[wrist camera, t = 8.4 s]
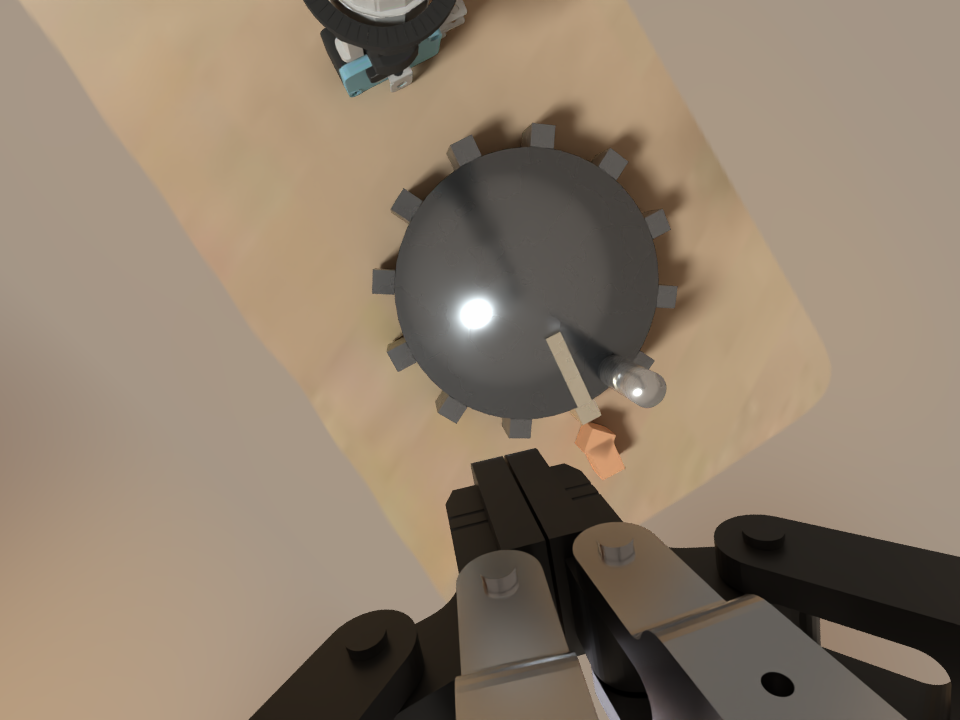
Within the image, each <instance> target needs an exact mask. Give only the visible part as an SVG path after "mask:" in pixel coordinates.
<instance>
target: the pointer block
mask: <svg viewBox="0 0 960 720" xmlns="http://www.w3.org/2000/svg"><path fill="white" fill-rule="evenodd" d="M615 437H616V435H615V434H614V433H613V432H611V431H610V430H609V429H608V428H607V427H605V426H602V425H598V424H595V423H591V422H588V423H586V424H584V425H581V428H580V431H579V433H578V436H577V439H576V441H575V444H576V445H577V446H578V447H579V448H580V449H581V450H582V451H583V452H584V453H586V455H587V458H588V460H589V462H590V464H591V466H592V468H593V470H594V471H595V472H596V473H597V474H598V475H599V477H600V478H601V479H602V480H604V479H606V478H608V477H610V476H612V475H614V474H616V473H617V472H619V471H621V470H623V469H625V467H624V464H623V462H622V460H621V458H620V456H619V454H618V451H617V449H616V447H615V445H614V443H613V442H614V439H615Z"/></svg>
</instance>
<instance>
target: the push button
mask: <svg viewBox="0 0 960 720" xmlns="http://www.w3.org/2000/svg"><path fill="white" fill-rule="evenodd" d="M303 1H304V2H305V4H306V6H307V7H308V9H309V10H310V11H311V13H312V14H313V15H314V16H315V17H316V19H317V20H318V21H319V22H320V23H321V24H322V25H323V26H324V27H326V28H324V29H323V30H322V31H321V33H320V35H321V37H322V40H323V43H324V46H325V48H326V51H327V53H328V55H329V57H330V59H331V61H332V63H333V65H334V67H335V69H336V71H337V73H338V75H339V77H340V79H341V81H342V83H343V85H344V86H345V88H346V90H347V92H348V94H349V96H350V97H355V96H357V95H359V94H361V93H363V91H365V90H367V89H369V88H371V87H373V86H375V85H377V84H379V83H381V82H383V81H385V80H387V79H389V81H390V83H391V84H390V87H391V92H395V91H397V90H399V89H401V88H403V87H405V86H407V85H409V84H410V83H411V82H412V73H413V72H412V70H411V67H413V66H415V65H417V64H419V63H421V62H423V61H425V60H427V59H429V58H431V57H433V56H435V55H436V54H437V53H438V52H439V46H440V41H441V38H443V37H445V36H446V33H445V32H447V31H449V30H451V29H453V28H455V27H457V26H459V25H461V24H463V23H464V21H465V19H464V17H463V16H464V15H466V14H467V9H466V7H465V5H464V2H463V0H433V1H432V2H431V3H430V5H428V3H429V0H330V1H329V0H303ZM454 5H456V6H454ZM456 19H457V20H456ZM454 20H456V21H455V22H454V23H451V22H452V21H454ZM403 82H405V83H403ZM401 83H403V84H402V85H399V84H401ZM398 85H399V86H398Z"/></svg>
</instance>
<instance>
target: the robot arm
mask: <svg viewBox="0 0 960 720" xmlns="http://www.w3.org/2000/svg"><path fill="white" fill-rule="evenodd" d="M471 469H472V474H473V479H474V484H475V485H473V486H469V487H465V488H461V489H457V490H453V491H452V493H451V495H450V497H449V499H448V501H447V502H446V509H447V514H448V519H449V525H450V530H451V535H452V540H453V545H454V550H455V556H456V561H457V566H458V571H459V575H458V578H457V581H456V593H455V594H454V596H453V597H452V599H451V600H450V601H449V602H448V603H447V604H446V605H445V606H444V607H443V608H442V609H440V610H439V611H438V612H436V613H435V614H433V615H431V616H429V617H428V618H426V619H424V620H422V621H420V622H418V623H416V624H414V622H413V620H412V619H411V618H410V617H409V616H408V615H406V614H404V613H402V612H399V611H395V610H377V611H372V612H368V613H365V614H362V615H360V616H358V617H355V618H353V619H352V620H350V621H348V622H346V623H345V624H344V625H342V626H341V627H340V628H338V629H337V630H336V631H335V632H334V633H333V634H332V635H331V636H330V637H329V638H328V639H327V640H326V641H325V642H324V643H323V644H322V645H321V646H320V647H319V648H318V649H317V650H316V651H315V652H314V653H313V654H312V655H311V656H310V657H309V659H307V661H305V662H304V664H303V665H302V666H301V667H300V668H299V669H298V670H297V671H296V672H295V673H294V674H293V675H292V676H291V677H290V678H289V679H288V680H287V681H286V682H285V683H284V684H283V685H282V686H281V687H280V688H279V689H278V690H277V691H276V692H275V693H274V694H273V695H272V696H271V697H270V698H269V699H268V700H267V701H266V702H265V703H264V705H262V706H261V708H260V709H259V710H258V711H257V712H256V713H255V714H254V715H253V716H252V717H251V718H250V719H249V720H599V719H598V716H597V713H596V710H595V707H594V704H593V702H592V698H591V695H590V693H589V689H588V687H587V684H586V681H585V678H584V675H583V672H582V669H581V666H580V663H579V660H578V658H577V656H579V655H583V654H586V656H587V658H588V660H589V662H590V664H591V669H592V675H593V682H594V688H595V692H596V695H597V697H598V699H599V701H600V703H601V705H602V706H603V708H604V710H605V712H606V714H607V716H608V718H609V719H610V720H960V557H957V556H953V555H948V554H944V553H939V552H934V551H930V550H925V549H921V548H916V547H912V546H907V545H903V544H898V543H894V542H889V541H884V540H880V539H875V538H871V537H866V536H861V535H857V534H852V533H847V532H843V531H839V530H834V529H829V528H825V527H820V526H816V525H811V524H807V523H802V522H797V521H793V520H788V519H783V518H779V517H774V516H767V515H743V516H737V517H734V518H731V519H728V520H726V521H724V522H723V523H721V524H720V525H719V526H718V527H717V528H716V530H715V533H714V543H715V547H699V548H670V547H668V546H666V545H665V544H664V543H663V542H662V541H661V540H660V539H659V538H658V537H657V536H656V535H655V534H654V533H652V532H651V531H650V530H648V529H646V528H644V527H642V526H639V525H636V524H632V523H626V522H623V521H622V520H621V519H620V518H619V516H618V515H617V514H616V513H615V512H614V510H613V509H612V508H611V507H610V505H609V504H608V503H607V502H606V501H605V499H604V498H603V497H602V496H601V494H599V493H598V491H597V490H596V488H595V487H594V486H593V485H591V482H590V481H589V480H588V479H587V477H586V476H585V475H584V474H583V472H582V471H580V470H578V469H576V468H574V467H571V466H569V465H567V464H565V463H564V464H560V465H556V466H551V467H549V466H548V464H547V463H546V461H545V460H544V458H543V457H542V455H541V454H540V453H539V451H538V450H537V449H536V448H534V449H530V450H525V451H521V452H517V453H513V454H509V455H505V456H504V458H503V456H501V457H496V458H492V459H488V460H484V461H480V462H475V463H471ZM820 618H822V619H825V620H828V621H831V622H834V623H837V624H841V625H844V626H846V627H850V628H853V629H856V630H859V631H862V632H865V633H868V634H872V635H874V636H878V637H881V638H884V639H887V640H890V641H893V642H896V643H899V644H902V645H906V646H909V647H912V648H915V649H917V650H920V651H922V652H924V653H926V654H927V655H929V656H931V657H932V658H933V659H935V660H936V661H937V662H938V663H939V664H940V665H941V666H942V667H943V668H944V669H945V670H946V672H947V673H948V675H949V677H950V680H951V682H949V683H947V684H944V685H931V684H926V683H922V682H919V681H917V680H914V679H911V678H908V677H905V676H902V675H900V674H896V673H894V672H891V671H888V670H886V669H882V668H880V667H877V666H874V665H871V664H869V663H866V662H863V661H860V660H857V659H854V658H852V657H848V656H846V655H843V654H840V653H837V652H834V651H832V650H829V649H826V648H823V647H821V642H820Z"/></svg>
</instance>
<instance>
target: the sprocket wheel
mask: <svg viewBox="0 0 960 720" xmlns="http://www.w3.org/2000/svg"><path fill="white" fill-rule="evenodd" d="M554 138H555V125H546V124H536V123H532V124H531V125H530V126H529V127H528V128H527V129H526V130H525V131H524V132H523V133H522V145H521V147H520V148H512V149H505V150H501V151H497V152H493V153H490V154H487V155H484V156H482V155H481V153H480V151H479V149H478V147H477V145H476V142H475V140H474V138H473V136H472V135H470V136H468V137H466V138H464V139H462V140H460V141H458V142H456V143H454V144H452V145H450V147H449V149H448V151H447V153H446V154H447V156H448V158H449V160H450V162H451V164H452V167H453V169H454V172H453V173H451V174H450V175H449V176H448V177H446V178H445V179H444V180H443V181H441V182H440V183H439V184H438V185H437V186H436V187H435V188H434V189H433V191H432V192H431V193H430V194H429V195H428V196H427V197H426V198H425V200H424V201H423V203H422V200H420V199H419V198H417V197H416V196H414V195H413V194H411V193H410V192H409V191H407V190H406V189H404V188H403V190H402V192H401V193H400V195H399V196H398V198H397V200H396V201H395V203H394V205H393V206H392V208H391V213H393V214H394V215H396V216H397V217H399V218H400V219H402V220H403V221H405V222H406V223H408V224H409V226H408V228H407V230H406V233H405V235H404V238H403V241H402V243H401V246H400V250H399V255H398V259H397V263H396V273H395V269H377V268H375V269H373V285H372V294H393V295H394V293H395V303H396V308H397V314H398V320H399V323H400V326H401V329H402V333H403V336H404V337H402V338H401V339H399V340H397V341H395V342H393V343H391V344H389V345H388V347H387V353H388V355H389V357H390V359H391V360H392V362H393V364H394V366H395V368H396V369H397V371H398V372H399V371H401V370H403V369H405V368H406V367H408V366H410V365H412V364H414V363H416V361H417V362H418V364H419V366H420V367H421V368H422V370H423V371H424V372H425V373H426V374H427V375H428V377H429V378H430V379H431V380H432V381H433V382H434V383H435V384H436V385H437V386H438V387H439V388H441V389H442V390H443V391H442V392H441V394H440V395H439V397H438V398H437V400H436V401H435V403H436V407H437V412H438V413H439V414H441V415H442V416H444V417H446V418H448V419H449V420H451V421H453V422H454V423H456V424H457V422H458V421H459V419H460V418H461V416H462V414H463V413H464V411H465V410H466V408H467V406H468V407H470V408H472V409H474V410H477V411H480V412H483V413H485V414H488V415H493V416H497V417H502V427H503V428H504V430H505V432H506V434H507V435H508V437H509V438H530V437H531V424H532V419H538V418H543V417H549V416H554V415H557V414H561V413H564V412H567V411H570V413H571V415H573V416H574V417H575V418H576V419H577V420H578V421H579V422H580V423H581V424H582V425H584V424H586V423H588V422H590V421H592V420H594V419H596V418H597V417H599V416H601V413H600V411H599V408H598V406H597V404H596V402H595V400H594V398H595V397H597V396H598V395H600V394H601V393H602V392H603V391H605V390H606V389H607V388H608V387H610V388H612V389H614V390H615V391H617V392H618V393H620V394H621V395H623V396H625V397H626V398H628V399H629V400H631V401H632V402H634V403H636V404H637V405H639V406H641V407H644V408H650V407H654V406H656V405H657V404H659V403H660V402H661V401H662V400H663V398H664V396H665V393H666V383H665V381H664V379H663V378H662V376H660V375H659V374H657V373H655V372H653V371H651V370H649V368H650V367H651V365H652V364H653V363H654V360H653V359H652V358H650V357H649V356H647V355H646V354H644V353H643V352H641V351H640V348H641V347H642V345H643V343H644V341H645V338H646V336H647V334H648V332H649V329H650V326H651V323H652V320H653V316H654V313H655V308H656V307H658V308H675V303H676V295H677V287H678V286H670V285H661V284H658V281H659V278H658V262H657V257H656V252H655V246H654V243H653V240H652V239H654V238H656V237H658V236H660V235H662V234H663V233H665V232H667V231H669V230H671V229H670V226H669V224H668V221H667V218H666V216H665V213H664V211H663V209H658V210H653V211H647V212H643V213H641V211H640V210H639V208H638V207H637V205H636V204H635V202H634V201H633V199H632V198H631V197H630V195H629V194H628V193H627V192H626V191H625V190H624V188H623V187H622V186H621V185H620V184H619V183H618V182H617V181H616V180H617V178H618V177H619V175H620V174H621V172H622V171H623V169H624V168H625V166H626V165H627V163H628V161H627V160H625V159H624V158H623V157H622V156H620V155H619V154H618V153H616V152H615V151H614V150H613V149H611V148H609V149H607V150H605V151H603V152H601V153H599V154H597V155H595V157H594V158H593V160H592V161H591V162H589V161H587V160H584V159H582V158H580V157H578V156H576V155H573V154H570V153H566V152H563V151H560V150H554ZM481 156H482V157H481Z"/></svg>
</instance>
